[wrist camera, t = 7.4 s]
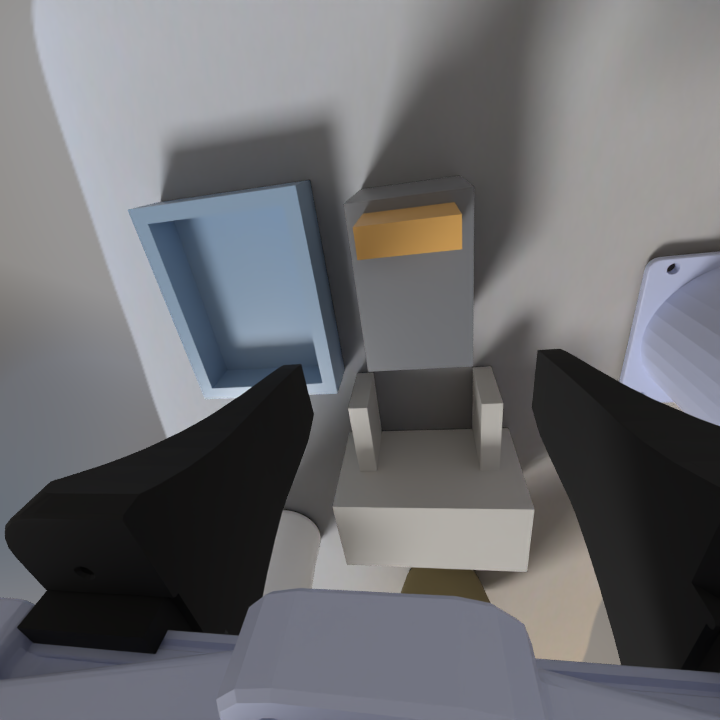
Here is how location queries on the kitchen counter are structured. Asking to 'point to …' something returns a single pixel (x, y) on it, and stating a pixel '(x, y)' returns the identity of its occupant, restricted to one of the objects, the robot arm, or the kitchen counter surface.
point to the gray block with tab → (414, 272)
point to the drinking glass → (293, 553)
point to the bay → (433, 489)
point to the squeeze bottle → (444, 583)
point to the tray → (245, 285)
